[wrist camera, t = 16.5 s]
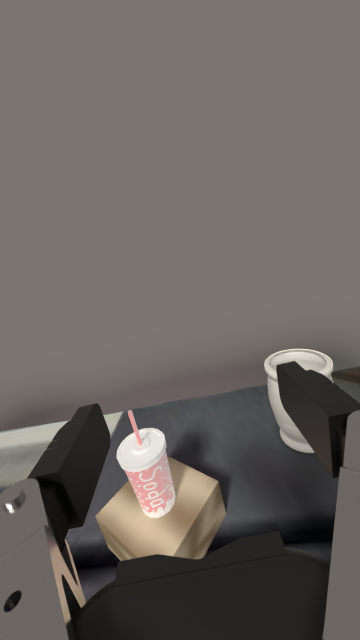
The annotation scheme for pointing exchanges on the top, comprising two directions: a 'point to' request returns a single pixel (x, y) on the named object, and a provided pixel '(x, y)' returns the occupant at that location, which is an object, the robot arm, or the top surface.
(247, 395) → the top surface
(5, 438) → the top surface
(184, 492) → the wooden riser
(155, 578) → the robot arm
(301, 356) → the jar
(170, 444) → the top surface
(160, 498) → the beverage cup
